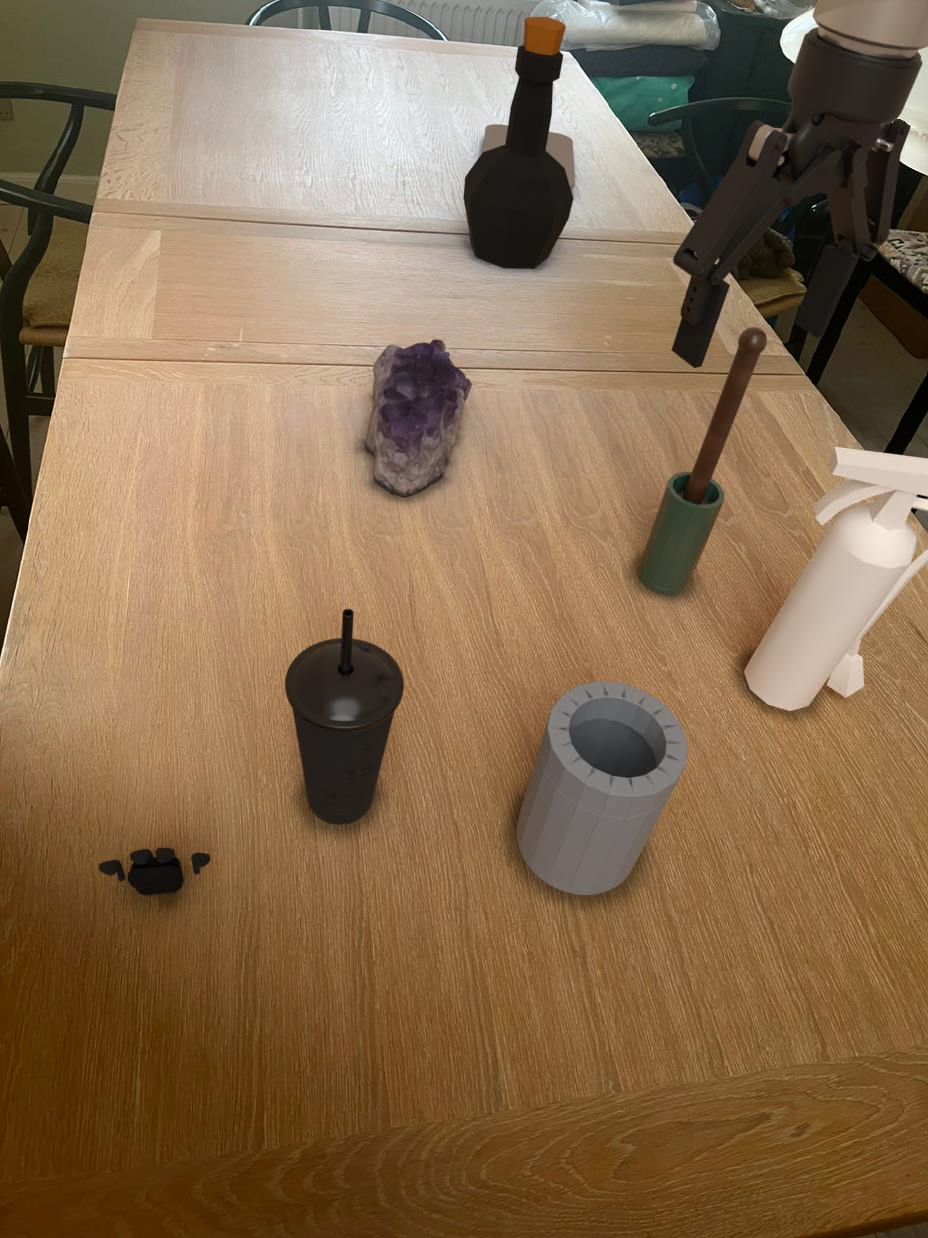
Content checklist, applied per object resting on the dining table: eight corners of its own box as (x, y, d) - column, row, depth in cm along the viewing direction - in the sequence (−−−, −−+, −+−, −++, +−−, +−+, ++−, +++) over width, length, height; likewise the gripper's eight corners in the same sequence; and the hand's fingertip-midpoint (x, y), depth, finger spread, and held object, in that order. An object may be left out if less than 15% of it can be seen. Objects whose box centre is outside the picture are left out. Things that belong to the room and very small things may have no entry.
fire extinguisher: (861, 731, 80) (1020, 510, 62) (724, 700, 81) (842, 471, 63) (853, 674, 85) (998, 453, 67) (724, 645, 85) (834, 418, 68)
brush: (682, 564, 92) (777, 324, 73) (679, 585, 89) (777, 343, 71) (650, 556, 92) (737, 315, 73) (647, 577, 90) (736, 333, 71)
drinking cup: (267, 789, 69) (257, 601, 55) (349, 739, 73) (359, 552, 59) (329, 861, 65) (335, 681, 51) (411, 804, 69) (437, 623, 55)
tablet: (477, 188, 154) (479, 174, 152) (484, 134, 172) (486, 121, 170) (572, 202, 155) (575, 188, 153) (569, 148, 173) (572, 135, 171)
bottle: (447, 263, 133) (473, 25, 112) (467, 219, 145) (494, -5, 123) (555, 284, 133) (602, 49, 111) (566, 239, 144) (611, 17, 123)
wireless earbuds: (213, 872, 64) (208, 835, 60) (213, 906, 62) (207, 869, 58) (107, 882, 62) (95, 844, 59) (103, 917, 61) (90, 880, 57)
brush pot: (690, 566, 93) (725, 479, 85) (686, 601, 89) (723, 513, 81) (639, 553, 93) (670, 466, 85) (634, 588, 90) (665, 499, 82)
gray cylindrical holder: (642, 804, 72) (691, 700, 63) (629, 911, 66) (682, 813, 56) (528, 773, 73) (560, 666, 64) (504, 876, 66) (536, 774, 57)
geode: (468, 506, 95) (466, 427, 88) (357, 504, 96) (346, 425, 88) (474, 393, 109) (474, 315, 101) (377, 392, 109) (369, 315, 102)
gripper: (941, 17, 65) (821, 297, 80) (681, 23, 54) (598, 346, 69) (1031, 51, 61) (887, 339, 76) (769, 65, 50) (661, 398, 65)
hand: (749, 343), depth 73 cm, fingers open, 13 cm apart
